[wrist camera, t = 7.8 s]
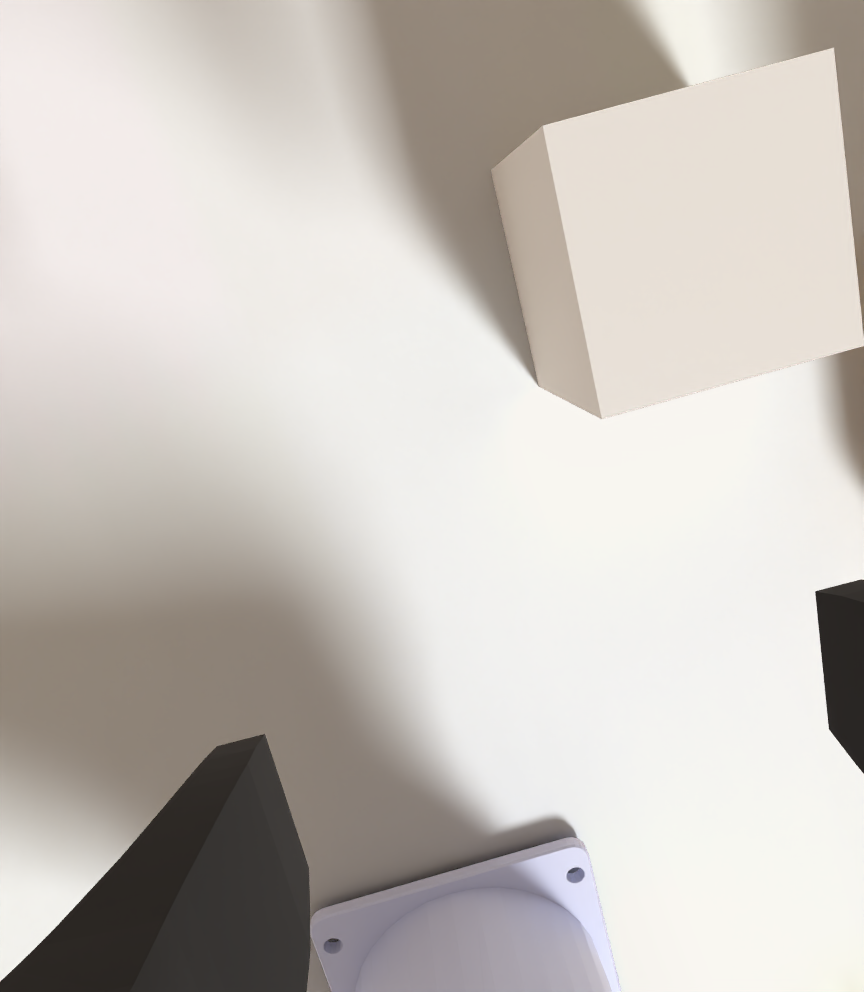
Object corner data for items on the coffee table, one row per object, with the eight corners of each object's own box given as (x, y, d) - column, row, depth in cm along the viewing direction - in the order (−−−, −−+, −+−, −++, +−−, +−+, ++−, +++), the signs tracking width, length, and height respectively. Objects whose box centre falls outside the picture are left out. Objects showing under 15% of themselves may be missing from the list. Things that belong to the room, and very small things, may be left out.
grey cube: (734, 331, 19) (864, 345, 14) (537, 386, 19) (602, 419, 14) (702, 113, 18) (833, 47, 13) (489, 170, 17) (542, 126, 13)
